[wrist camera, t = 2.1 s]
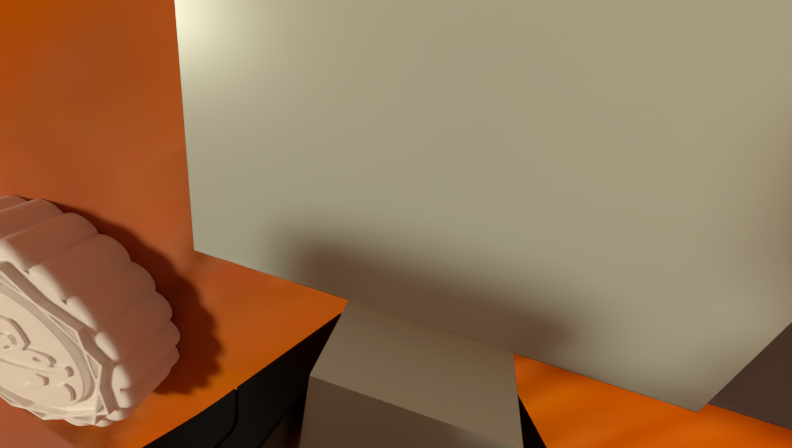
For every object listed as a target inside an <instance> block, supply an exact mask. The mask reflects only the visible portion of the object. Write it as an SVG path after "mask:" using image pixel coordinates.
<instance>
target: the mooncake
mask: <svg viewBox="0 0 792 448" xmlns="http://www.w3.org/2000/svg"><path fill="white" fill-rule="evenodd" d="M155 290H156V286H155V282H154V280H153V278H152V276H151V275H150V274H149V272H148V271H147V270H146V269H144V268H143V267H142V266H140V265H139V264H137V263H135V262H132V261H131V259H130V256H129V254H128V252H127V251H126V249H125V248H124V247H123V246H122V245H121V244H120V243H119V242H118V241H117V240H115V239H114V238H112V237H110V236H107V235H104V234H99V233H98V231H97V229H96V228H95V227H94V226H93V224H92V223H91V222H90V221H88V220H87V219H86V218H84V217H83V216H81V215H79V214H76V213H63V212H62V211H61V210H60V209H59V208H58V207H57V206H55V205H54V204H52V203H51V202H49V201H47V200H44V199H34V200H31V201H26V200H25V199H23V198H21V197H19V196H15V195H8V196H4V197H1V198H0V396H1V397H2V398H3V399H4V400H6V401H7V402H8V403H9V404H10V405H12V406H16V407H20V408H24V409H27V410H29V411H30V412H32V413H33V414H35V415H37V416H38V417H40V418H41V419H43V420H49V419H57V420H59V419H65V420H66V421H68V422H69V423H71V424H74V425H77V426H86V425H89V424H92V425H95V426H100V427H104V426H108V425H110V424H112V423H113V422H114V421H119V420H123V419H125V418H127V417H128V416H129V415H130V414H131V413H132V412H133V411H134V410H135V409H136V408H137V407H138V406H139V405H140V404H141V403H142V402H143V401H144V400H145V399H146V398H147V397H148V396H149V395H150V394H151V393H152V391H153V390H154V389H155V388H156V387H157V386H158V385H159V384H160V383H161V382H162V381H163V380H164V379H165V378H166V377H167V376H168V375H169V373H170V371H171V368H172V366H173V365H174V364H175V363H176V362H177V361H178V359H179V352H178V350H177V348H176V347H175V345H177V343H178V342H179V340H180V333H179V330H178V329H177V327H176V326H175V324H174V323H173V322H172V321H170V319H171V317H172V308H171V306H170V304H169V303H168V301H167V300H166V299H165V298H164V297H163V296H162V295H161V294H159V293H158V292H156V291H155Z"/></svg>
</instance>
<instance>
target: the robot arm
mask: <svg viewBox="0 0 792 448" xmlns="http://www.w3.org/2000/svg"><path fill="white" fill-rule="evenodd" d="M341 314H342V313H341ZM341 314H339V315H337V316H336V317H334V318H333V319H332V320H330V321H329V322H328V323H326V324H325V325H323V326H322V327H321V328H319V329H318V330H316V331H315V332H314V333H312V334H311V335H309V336H308V337H307V338H305V339H304V340H302V341H301V342H300V343H298V344H297V345H295V346H294V347H293V348H291V349H290V350H288V351H287V352H286V353H284V354H283V355H281V356H280V357H279V358H277V359H276V360H274V361H273V362H272V363H270V364H269V365H267V366H266V367H265V368H263V369H262V370H260V371H259V372H258V373H256V374H255V375H253V376H252V377H251V378H249V379H248V380H246V381H245V382H244V383H242V384H241V385H239V386H238V387H237V390H236V389H234V390H232V391H231V392H229V393H228V394H227V395H225V396H224V397H222V398H221V399H220V400H218V401H217V402H215V403H214V404H212V405H211V406H209V407H208V408H206V409H205V410H203V411H202V412H200V413H199V414H197V415H196V416H194V417H193V418H191V419H189V420H188V421H186V422H184V423H183V424H181V425H179V426H178V427H176V428H175V429H173V430H171V431H170V432H168V433H166V434H164V435H163V436H161V437H159V438H158V439H156V440H154V441H152V442H151V443H149V444H147V445H146V446H144V447H142V448H299V445H300V438H301V431H302V424H303V417H304V410H305V403H306V396H307V389H308V382H309V375H310V373H311V372H312V370H313V368H314V366H315V364H316V362H317V360H318V358H319V356H320V354H321V353H322V351H323V349H324V347H325V345H326V343H327V341H328V339H329V337H330V335H331V333H332V332H333V330H334V328H335V326H336V324H337V322H338V320H339V318H340V316H341ZM518 403H519V413H520V422H521V431H522V441H523V448H546V446H545V444H544V442H543V440H542V438H541V437H540V435H539V433H538V431H537V429H536V427H535V425H534V424H533V422H532V420H531V418H530V416H529V414H528V412H527V411H526V409H525V407H524V405H523V403H522V401H521V399H520V398H519V396H518Z"/></svg>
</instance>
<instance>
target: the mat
mask: <svg viewBox="0 0 792 448" xmlns="http://www.w3.org/2000/svg"><path fill="white" fill-rule="evenodd" d="M708 403H709V404H712V405H715V406H718V407H721V408H724V409H728V410H731V411H734V412H737V413H740V414H743V415H746V416H750V417H753V418H756V419H759V420H762V421H765V422H768V423H771V424H775V425H778V426H781V427H784V428H787V429H790V430H792V322H791V323H790V324H789V325H788V326H787V327H786V328H785V329H784V330H783V331H782V332H781V333H780V334H779V335H778V336H777V337H776V338H774V339H773V340H772V341H771V342H770V343H769V344H768V345H767V346H766V347H765V348H764V349H763V350H762V351H761V352H760V353H759V354H758V355H757V356H756V357H755V358H754V359H753V360H752V361H751V362H750V363H748V364H747V365H746V366H745V367H744V368H743V369H742V370H741V371H740V372H739V373H738V374H737V375H736V376H735V377H734V378H733V379H732V380H731V381H730V382H729V383H728V384H727V385H726V386H725V387H723V388H722V389H721V390H720V391H719V392H718V393H717V394H716V395H715V396H714V397H713V398H712V399H711V400H710V401H709V402H708Z"/></svg>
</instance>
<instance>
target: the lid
mask: <svg viewBox="0 0 792 448" xmlns="http://www.w3.org/2000/svg"><path fill="white" fill-rule="evenodd" d="M175 11H176V24H177V36H178V49H179V62H180V75H181V87H182V100H183V113H184V125H185V138H186V151H187V164H188V176H189V189H190V202H191V214H192V227H193V240H194V250H196V251H199V252H202V253H205V254H208V255H211V256H214V257H217V258H220V259H223V260H227V261H230V262H233V263H236V264H239V265H242V266H245V267H248V268H251V269H254V270H258V271H261V272H264V273H267V274H270V275H273V276H276V277H279V278H282V279H285V280H289V281H292V282H295V283H298V284H301V285H304V286H307V287H310V288H313V289H316V290H320V291H323V292H326V293H329V294H332V295H335V296H338V297H341V298H344V299H347V300H349V301H348V303H347V305H346V307H345V309H344V311H343V313H342V314H341V316H340V318H339V320H338V322H337V324H336V326H335V328H334V330H333V332H332V333H331V335H330V337H329V339H328V341H327V343H326V345H325V347H324V349H323V351H322V353H321V354H320V356H319V358H318V360H317V362H316V364H315V366H314V368H313V370H312V372H311V373H310V375H309V382H308V389H307V396H306V403H305V410H304V417H303V424H302V431H301V438H300V445H299V448H523V441H522V431H521V422H520V413H519V403H518V394H517V385H516V375H515V366H514V357H513V353H515V354H518V355H521V356H524V357H527V358H530V359H533V360H537V361H540V362H543V363H546V364H549V365H552V366H555V367H558V368H561V369H564V370H568V371H571V372H574V373H577V374H580V375H583V376H586V377H589V378H592V379H595V380H598V381H602V382H605V383H608V384H611V385H614V386H617V387H620V388H623V389H626V390H629V391H633V392H636V393H639V394H642V395H645V396H648V397H651V398H654V399H657V400H660V401H664V402H667V403H670V404H673V405H676V406H679V407H682V408H685V409H688V410H691V411H695V412H699V411H700V410H701V409H702V408H703V407H704V406H705V405H706V404H707V403H708V402H709V401H710V400H711V399H712V398H713V397H714V396H715V395H716V394H717V393H718V392H719V391H720V390H721V389H722V388H723V387H725V386H726V385H727V384H728V383H729V382H730V381H731V380H732V379H733V378H734V377H735V376H736V375H737V374H738V373H739V372H740V371H741V370H742V369H743V368H744V367H745V366H746V365H747V364H748V363H750V362H751V361H752V360H753V359H754V358H755V357H756V356H757V355H758V354H759V353H760V352H761V351H762V350H763V349H764V348H765V347H766V346H767V345H768V344H769V343H770V342H771V341H772V340H773V339H774V338H776V337H777V336H778V335H779V334H780V333H781V332H782V331H783V330H784V329H785V328H786V327H787V326H788V325H789V324H790V323H791V322H792V0H175Z"/></svg>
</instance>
